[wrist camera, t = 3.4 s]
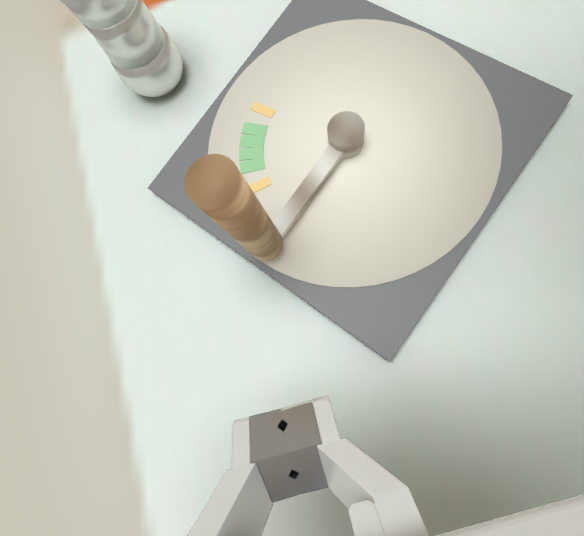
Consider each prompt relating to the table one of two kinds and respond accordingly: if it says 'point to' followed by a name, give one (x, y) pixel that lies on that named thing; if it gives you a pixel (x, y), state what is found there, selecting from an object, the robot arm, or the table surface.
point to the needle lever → (243, 202)
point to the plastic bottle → (132, 43)
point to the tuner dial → (369, 157)
